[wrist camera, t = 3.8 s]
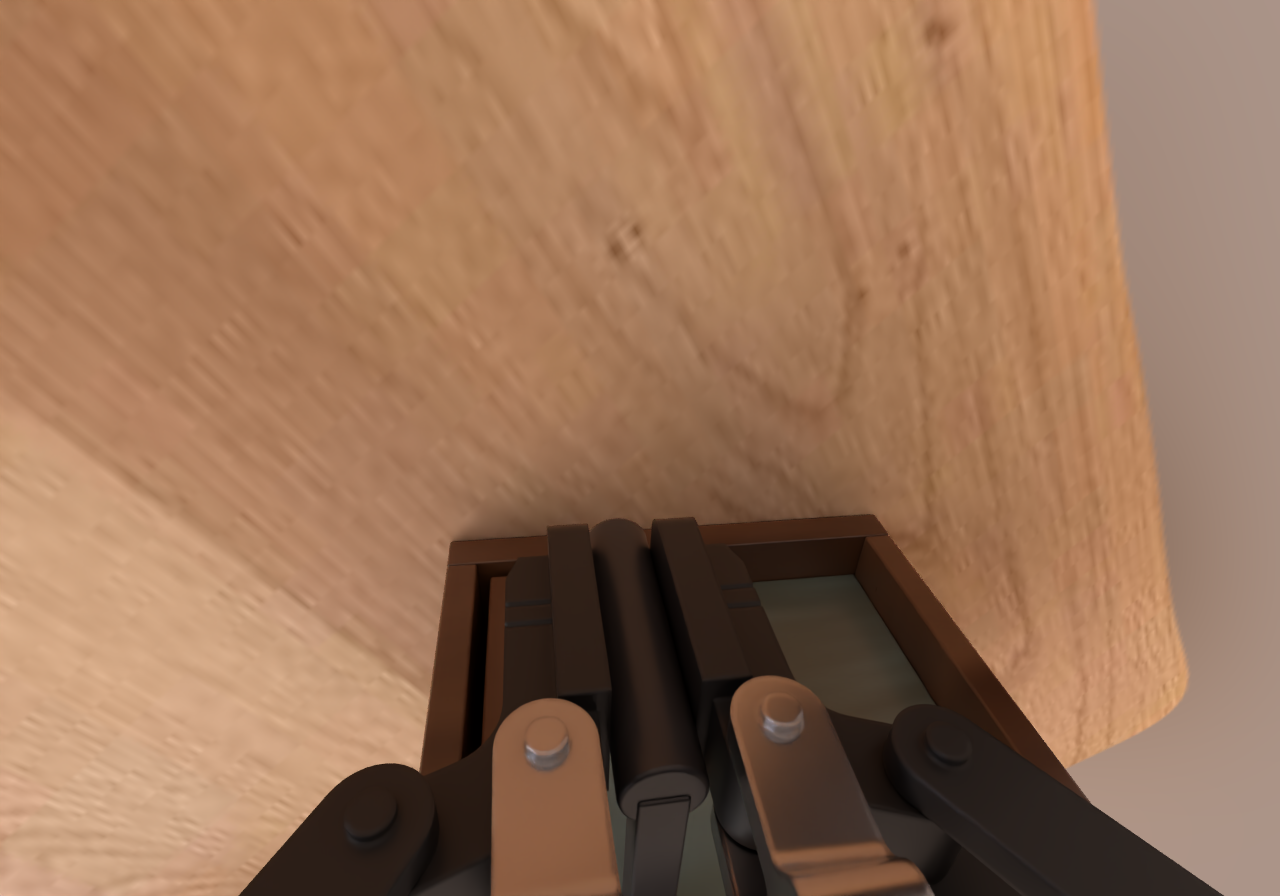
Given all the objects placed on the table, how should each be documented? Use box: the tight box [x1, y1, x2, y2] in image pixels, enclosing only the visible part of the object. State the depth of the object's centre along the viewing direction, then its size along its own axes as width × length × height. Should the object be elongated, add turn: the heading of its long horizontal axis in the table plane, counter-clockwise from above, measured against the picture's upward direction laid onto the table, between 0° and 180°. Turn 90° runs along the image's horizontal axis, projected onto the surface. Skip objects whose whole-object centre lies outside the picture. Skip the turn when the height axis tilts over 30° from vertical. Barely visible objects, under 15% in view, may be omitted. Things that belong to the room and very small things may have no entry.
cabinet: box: [419, 515, 1091, 804], centre depth 17 cm, size 9×13×12 cm
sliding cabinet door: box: [481, 518, 726, 896], centre depth 13 cm, size 6×6×9 cm
